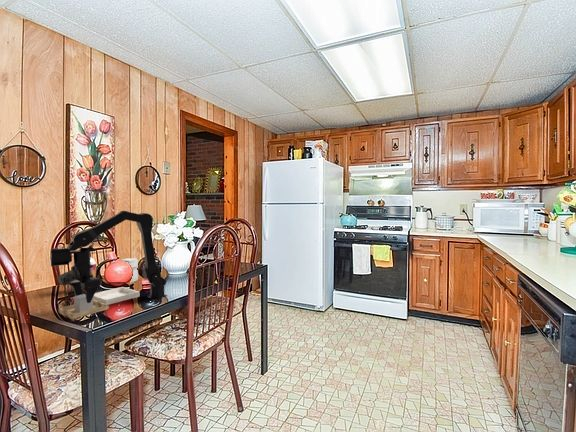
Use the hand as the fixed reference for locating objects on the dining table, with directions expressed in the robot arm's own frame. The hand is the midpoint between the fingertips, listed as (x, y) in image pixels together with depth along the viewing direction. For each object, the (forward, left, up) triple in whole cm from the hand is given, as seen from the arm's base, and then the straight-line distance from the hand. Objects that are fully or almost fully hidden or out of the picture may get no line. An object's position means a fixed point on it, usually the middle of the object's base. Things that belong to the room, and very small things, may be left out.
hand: (83, 300), depth 129 cm
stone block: (0, 0, -4) cm, 4 cm away
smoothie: (+32, -15, -5) cm, 36 cm away
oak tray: (0, 0, -4) cm, 4 cm away
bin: (+7, -16, -4) cm, 18 cm away
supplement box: (+32, -36, -5) cm, 48 cm away
